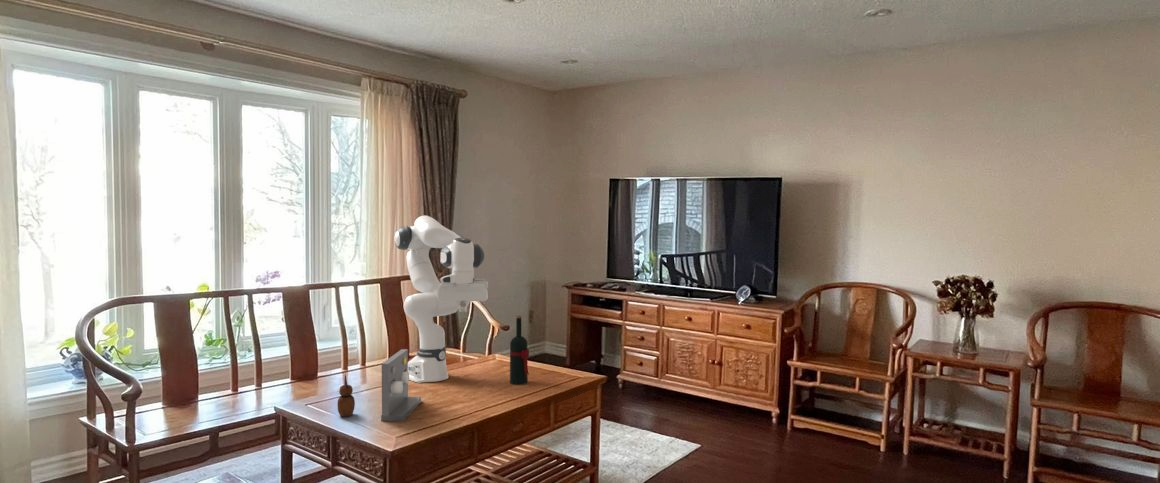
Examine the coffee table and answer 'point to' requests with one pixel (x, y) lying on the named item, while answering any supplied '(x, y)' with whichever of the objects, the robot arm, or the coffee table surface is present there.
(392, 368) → the control panel
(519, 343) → the wine bottle
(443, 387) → the coffee table surface
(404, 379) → the beige rounded lump
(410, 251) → the robot arm
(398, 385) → the unlit button
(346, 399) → the wooden figurine
